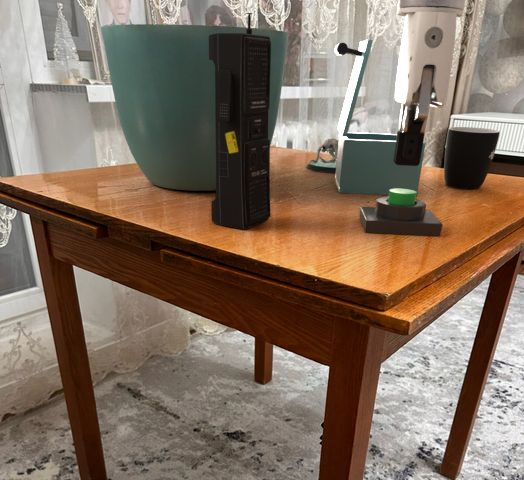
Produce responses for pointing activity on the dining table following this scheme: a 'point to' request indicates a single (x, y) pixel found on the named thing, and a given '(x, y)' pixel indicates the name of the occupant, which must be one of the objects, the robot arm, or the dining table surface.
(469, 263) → the dining table surface
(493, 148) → the mug
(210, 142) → the flower pot
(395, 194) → the button
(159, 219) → the dining table surface
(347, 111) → the box lid
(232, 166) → the portable radio
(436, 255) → the dining table surface
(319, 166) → the figurine
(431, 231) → the block
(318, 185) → the dining table surface
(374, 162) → the teal open box
